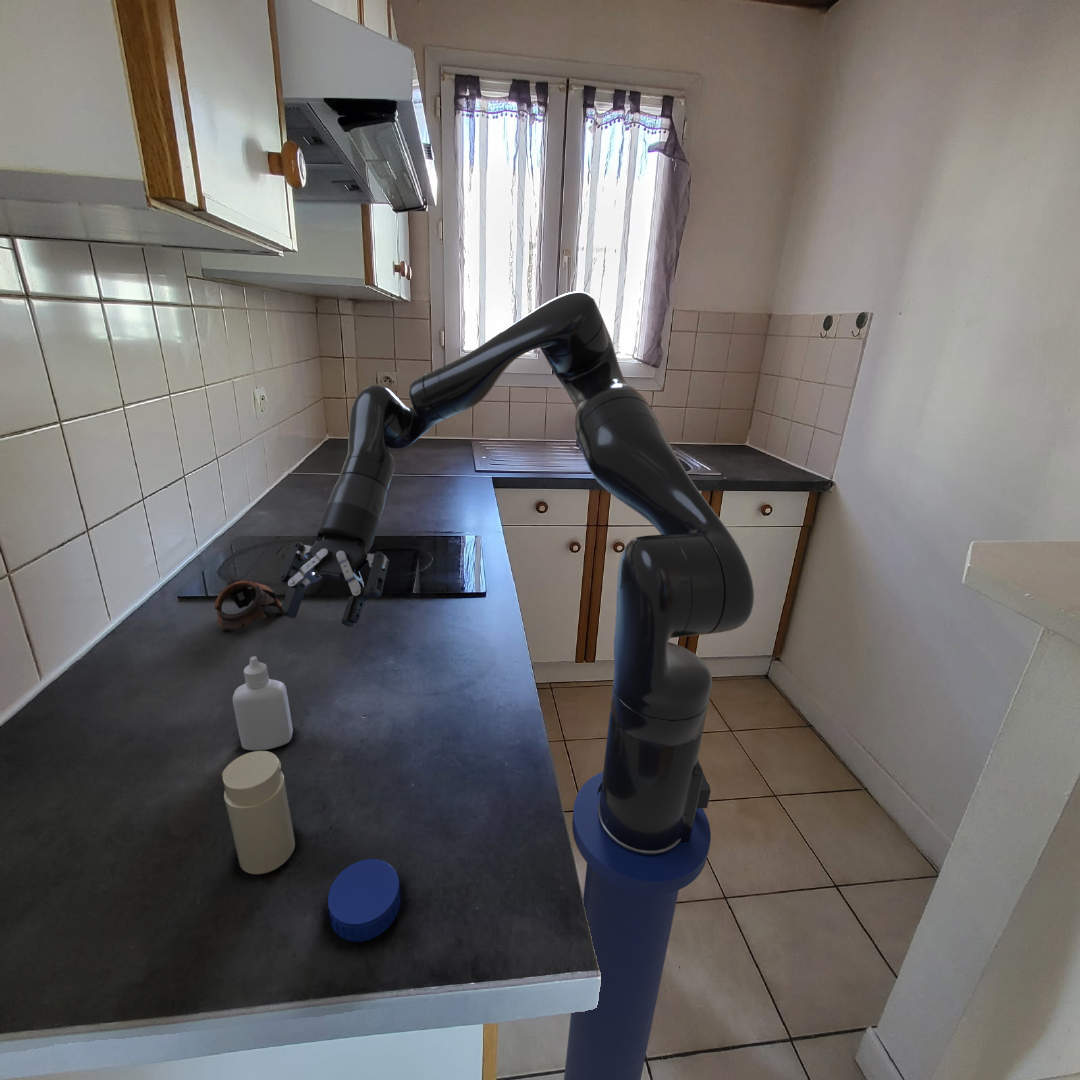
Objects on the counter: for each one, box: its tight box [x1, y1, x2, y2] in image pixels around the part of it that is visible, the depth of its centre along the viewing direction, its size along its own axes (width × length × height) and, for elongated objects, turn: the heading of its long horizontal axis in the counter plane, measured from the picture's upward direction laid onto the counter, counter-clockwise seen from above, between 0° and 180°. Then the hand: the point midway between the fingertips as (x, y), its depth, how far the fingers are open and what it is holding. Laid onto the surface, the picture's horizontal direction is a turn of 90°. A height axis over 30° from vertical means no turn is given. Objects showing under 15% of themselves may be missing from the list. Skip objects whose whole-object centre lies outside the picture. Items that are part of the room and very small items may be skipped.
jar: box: [221, 750, 296, 875], centre depth 53 cm, size 5×5×10 cm
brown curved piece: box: [214, 577, 284, 632], centre depth 93 cm, size 12×10×8 cm
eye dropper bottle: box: [232, 655, 294, 751], centre depth 66 cm, size 4×6×12 cm
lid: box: [327, 858, 402, 943], centre depth 49 cm, size 6×6×2 cm
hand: (317, 620), depth 74 cm, fingers open, 8 cm apart
